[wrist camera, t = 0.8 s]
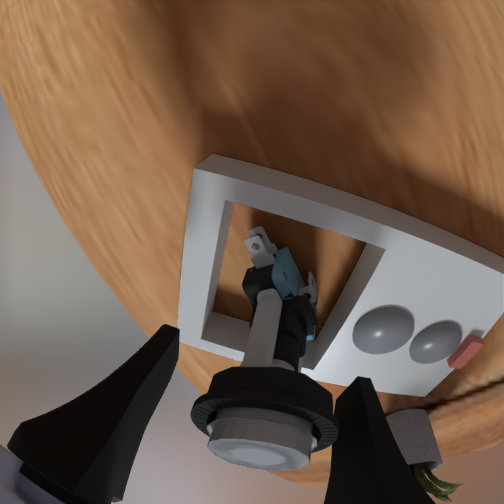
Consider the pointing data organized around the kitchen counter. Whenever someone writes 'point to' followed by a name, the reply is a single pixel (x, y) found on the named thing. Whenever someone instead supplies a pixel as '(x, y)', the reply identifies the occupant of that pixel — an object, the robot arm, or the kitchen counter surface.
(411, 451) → the house plant
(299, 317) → the push button
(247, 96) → the kitchen counter surface
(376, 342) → the control panel
